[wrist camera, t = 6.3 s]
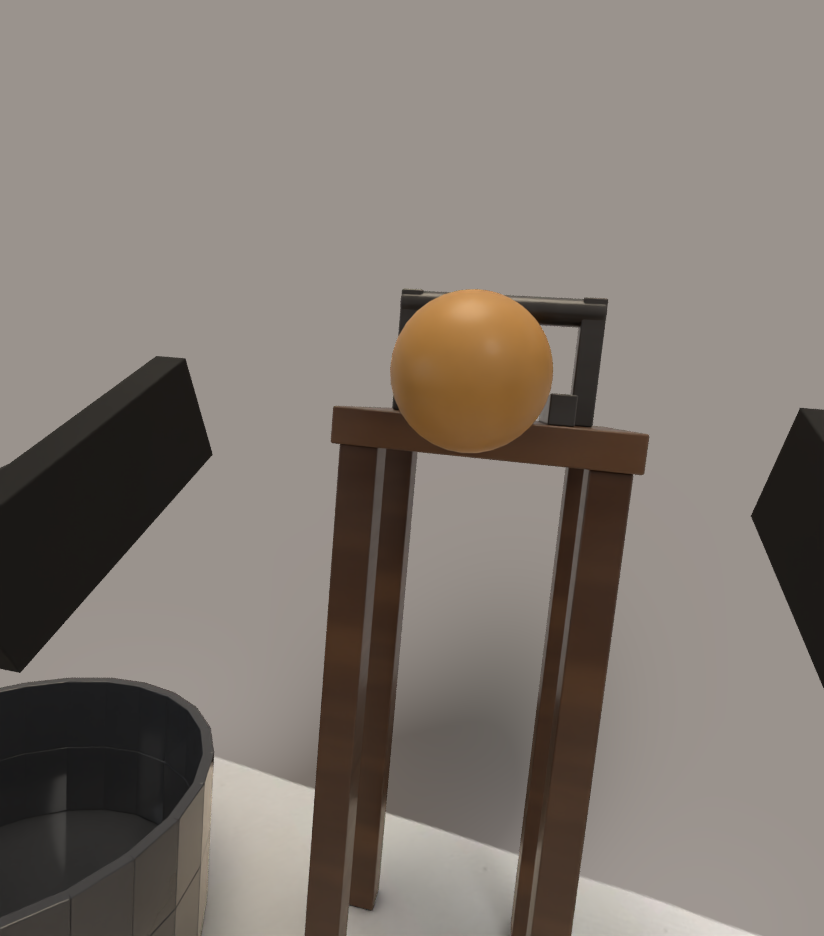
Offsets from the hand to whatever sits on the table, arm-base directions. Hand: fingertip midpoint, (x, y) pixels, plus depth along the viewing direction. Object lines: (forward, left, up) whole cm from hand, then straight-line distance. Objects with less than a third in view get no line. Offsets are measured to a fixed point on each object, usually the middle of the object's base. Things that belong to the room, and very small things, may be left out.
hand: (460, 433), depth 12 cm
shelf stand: (-9, +11, -30) cm, 33 cm away
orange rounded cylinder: (-5, +6, 0) cm, 7 cm away
